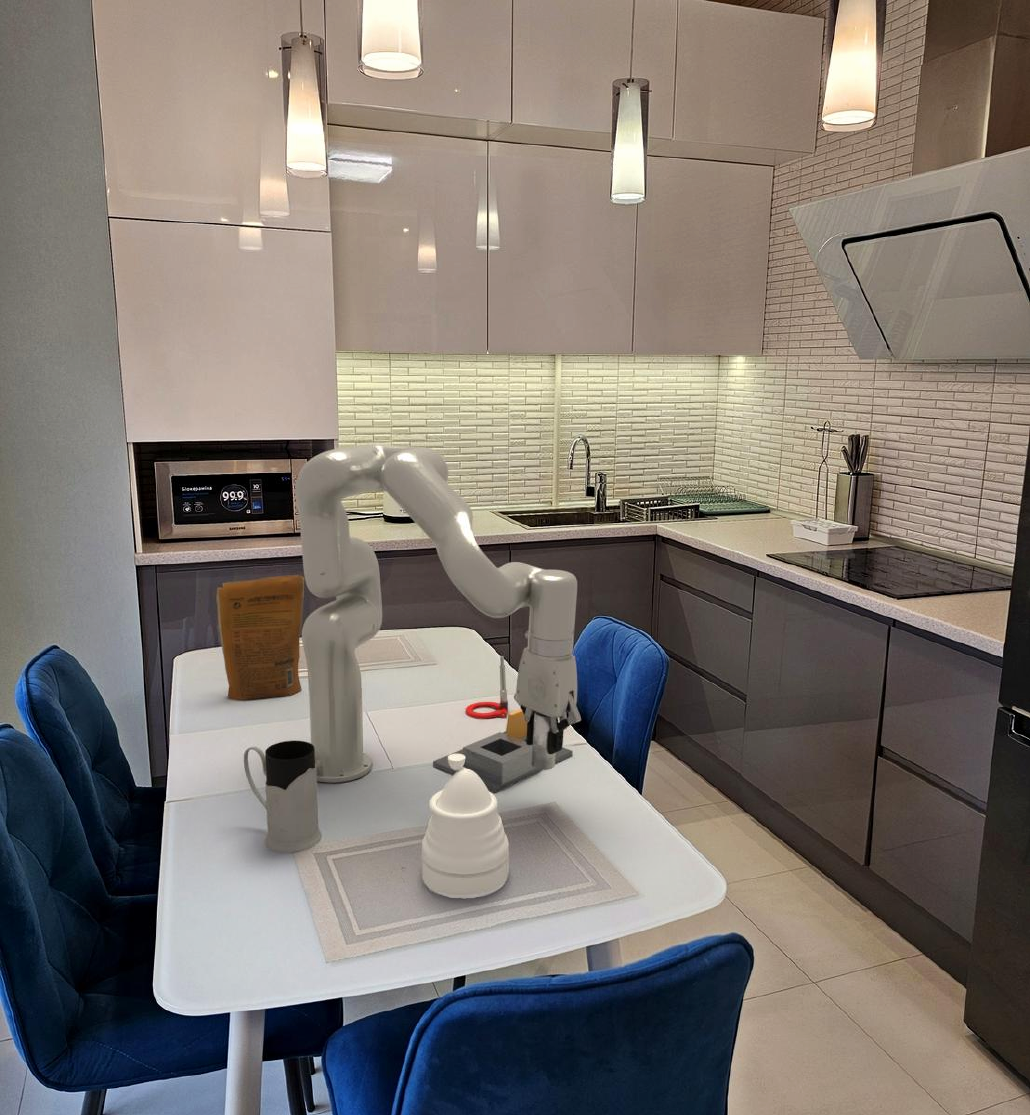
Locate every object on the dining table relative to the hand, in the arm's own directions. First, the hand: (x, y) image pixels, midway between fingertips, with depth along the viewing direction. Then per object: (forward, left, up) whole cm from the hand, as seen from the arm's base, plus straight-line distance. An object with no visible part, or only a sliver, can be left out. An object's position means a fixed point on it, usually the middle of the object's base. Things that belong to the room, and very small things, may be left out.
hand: (544, 746), depth 154 cm
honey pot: (-25, -6, -11) cm, 28 cm away
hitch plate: (+8, +17, -11) cm, 22 cm away
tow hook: (+24, +37, -11) cm, 46 cm away
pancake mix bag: (-4, +80, -11) cm, 81 cm away
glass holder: (-37, +24, -11) cm, 45 cm away
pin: (0, 0, -3) cm, 3 cm away
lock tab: (+14, +19, -9) cm, 26 cm away
